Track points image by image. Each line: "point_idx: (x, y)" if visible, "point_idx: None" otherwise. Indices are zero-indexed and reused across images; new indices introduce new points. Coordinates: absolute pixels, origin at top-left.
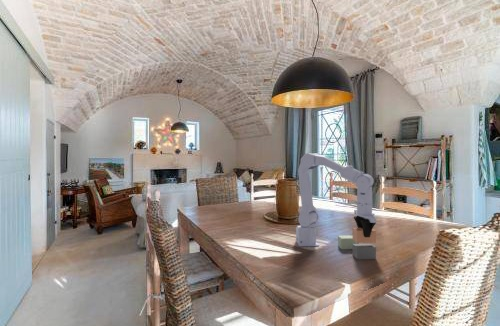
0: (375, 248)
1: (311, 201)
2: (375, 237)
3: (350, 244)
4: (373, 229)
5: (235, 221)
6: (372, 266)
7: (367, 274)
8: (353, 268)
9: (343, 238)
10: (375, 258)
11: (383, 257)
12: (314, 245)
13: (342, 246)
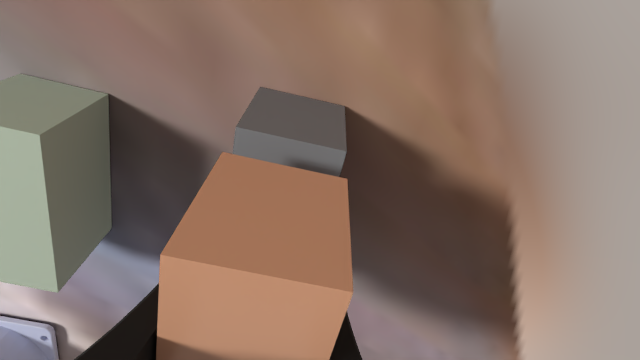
0: (345, 149)
1: None
2: (346, 220)
3: (86, 183)
4: (278, 286)
5: None
6: (438, 218)
7: (503, 306)
8: (411, 323)
9: (56, 276)
10: (344, 111)
11: (334, 6)
12: (54, 350)
13: (99, 234)
